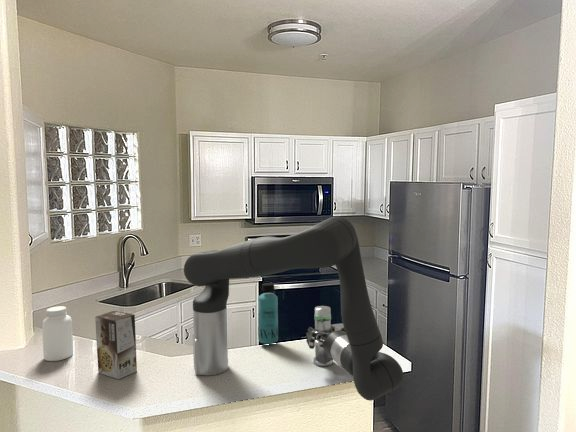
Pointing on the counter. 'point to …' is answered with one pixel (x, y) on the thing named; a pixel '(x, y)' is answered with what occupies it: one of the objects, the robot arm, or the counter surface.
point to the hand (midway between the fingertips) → (319, 329)
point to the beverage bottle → (268, 315)
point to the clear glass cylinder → (322, 325)
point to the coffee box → (116, 344)
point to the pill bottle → (57, 334)
